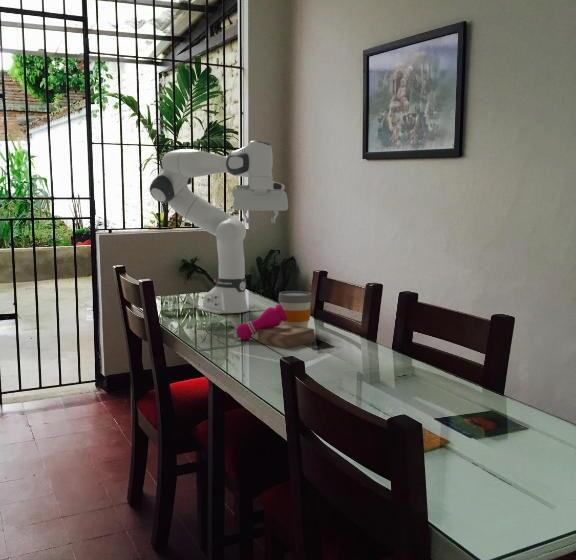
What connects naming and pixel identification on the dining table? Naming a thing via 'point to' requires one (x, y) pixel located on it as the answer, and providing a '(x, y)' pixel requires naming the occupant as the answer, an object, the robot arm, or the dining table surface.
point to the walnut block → (286, 335)
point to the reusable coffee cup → (296, 307)
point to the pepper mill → (261, 322)
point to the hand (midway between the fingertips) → (260, 223)
